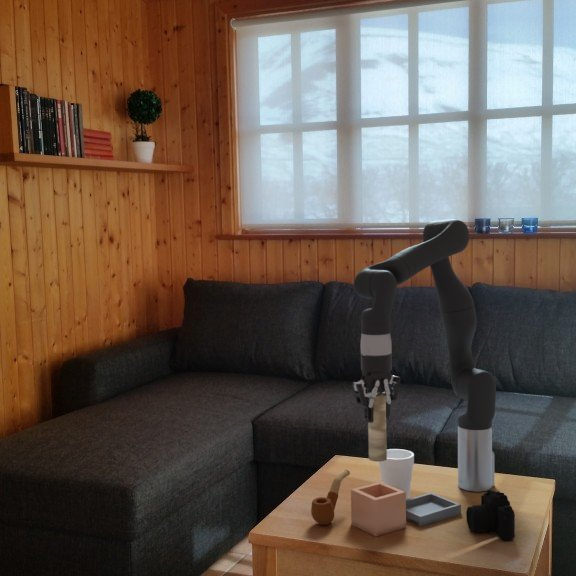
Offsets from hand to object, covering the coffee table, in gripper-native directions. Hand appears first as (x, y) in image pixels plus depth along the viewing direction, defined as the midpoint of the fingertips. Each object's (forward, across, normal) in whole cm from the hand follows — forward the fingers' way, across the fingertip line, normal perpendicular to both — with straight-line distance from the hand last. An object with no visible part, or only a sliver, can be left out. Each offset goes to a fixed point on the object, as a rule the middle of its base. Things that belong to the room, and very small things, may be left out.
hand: (377, 419), depth 195 cm
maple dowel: (+10, 0, 0) cm, 10 cm away
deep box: (+27, 0, 0) cm, 27 cm away
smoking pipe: (+27, +6, -12) cm, 30 cm away
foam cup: (+27, -15, -10) cm, 33 cm away
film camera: (+27, -20, +17) cm, 38 cm away
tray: (+27, -15, +1) cm, 31 cm away
